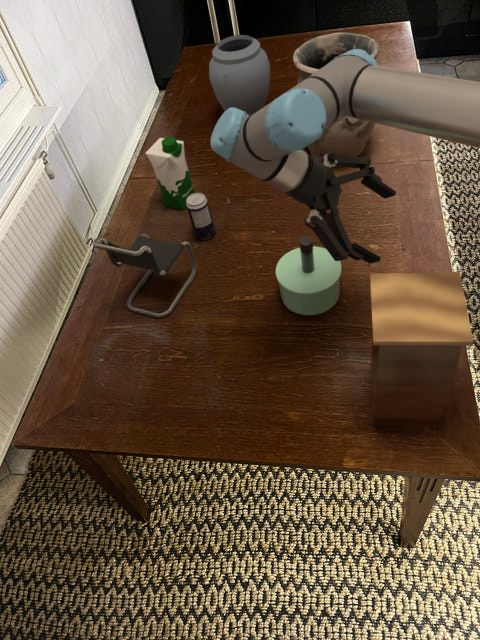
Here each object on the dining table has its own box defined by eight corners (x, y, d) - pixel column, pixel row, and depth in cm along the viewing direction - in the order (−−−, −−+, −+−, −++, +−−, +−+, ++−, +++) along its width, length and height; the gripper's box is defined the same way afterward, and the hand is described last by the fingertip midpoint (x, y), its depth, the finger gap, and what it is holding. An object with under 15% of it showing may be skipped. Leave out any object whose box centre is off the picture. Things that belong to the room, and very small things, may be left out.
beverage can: (219, 229, 143) (210, 193, 134) (209, 242, 140) (200, 207, 131) (200, 225, 146) (191, 190, 136) (191, 239, 143) (180, 204, 133)
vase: (209, 116, 182) (193, 43, 164) (258, 96, 186) (248, 22, 167) (233, 140, 170) (220, 65, 151) (286, 118, 174) (279, 42, 155)
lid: (341, 296, 113) (341, 264, 105) (273, 297, 115) (268, 266, 108) (341, 248, 122) (341, 216, 114) (278, 250, 124) (274, 219, 117)
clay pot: (302, 131, 167) (295, 32, 144) (377, 128, 162) (382, 25, 139) (294, 174, 154) (284, 73, 131) (375, 172, 148) (380, 67, 126)
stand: (445, 432, 97) (473, 341, 76) (367, 429, 100) (373, 341, 79) (436, 368, 106) (459, 271, 84) (365, 368, 109) (369, 273, 87)
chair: (122, 310, 130) (88, 244, 113) (156, 261, 139) (130, 193, 122) (166, 321, 125) (139, 254, 108) (199, 270, 134) (178, 201, 117)
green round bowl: (339, 315, 118) (339, 292, 113) (279, 315, 121) (275, 293, 115) (339, 271, 127) (339, 248, 121) (283, 272, 129) (280, 250, 124)
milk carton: (185, 213, 150) (167, 152, 135) (159, 207, 154) (139, 147, 138) (200, 194, 155) (184, 133, 139) (175, 189, 158) (157, 128, 143)
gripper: (300, 119, 95) (382, 174, 105) (264, 244, 89) (353, 290, 99) (327, 102, 88) (412, 163, 98) (290, 236, 83) (383, 286, 93)
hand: (383, 227), depth 99 cm, fingers open, 13 cm apart
